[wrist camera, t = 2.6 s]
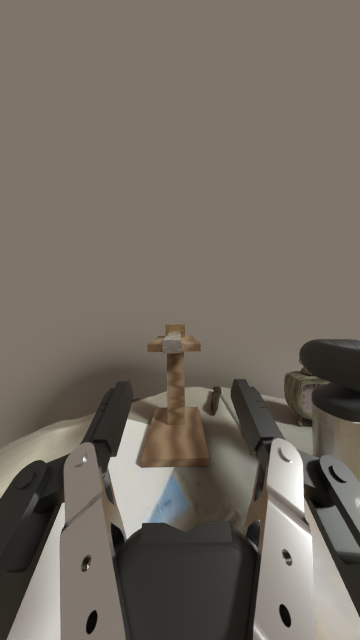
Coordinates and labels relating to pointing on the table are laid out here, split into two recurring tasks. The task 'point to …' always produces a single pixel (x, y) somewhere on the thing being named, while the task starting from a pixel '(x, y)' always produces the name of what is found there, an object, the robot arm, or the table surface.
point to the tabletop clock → (301, 391)
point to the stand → (175, 418)
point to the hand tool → (215, 399)
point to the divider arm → (173, 338)
